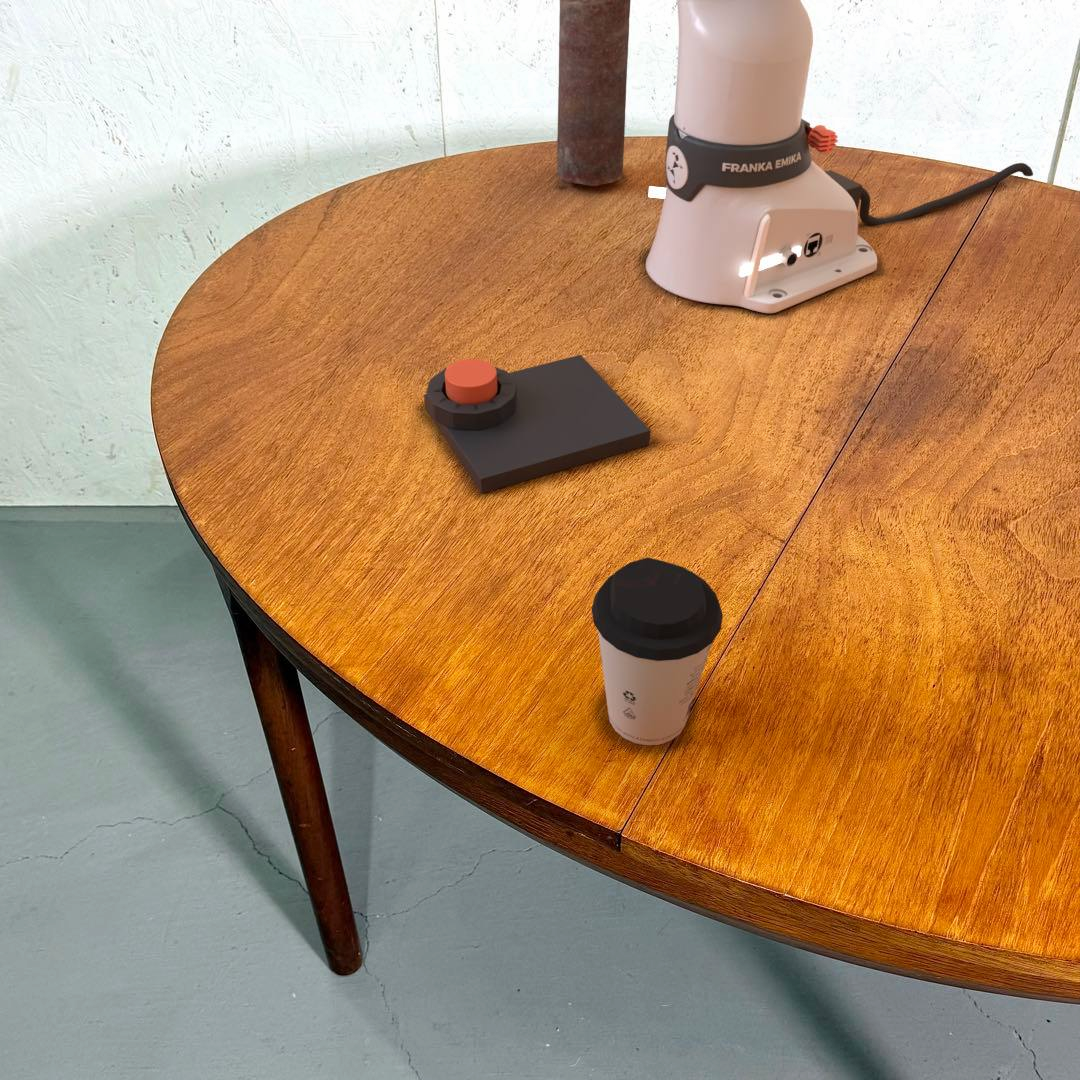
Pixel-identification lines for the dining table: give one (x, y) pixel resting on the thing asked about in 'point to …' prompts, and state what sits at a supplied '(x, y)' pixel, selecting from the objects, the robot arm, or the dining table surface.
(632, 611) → the coffee cup
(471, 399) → the red button cap
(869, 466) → the dining table surface
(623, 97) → the candle
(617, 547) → the dining table surface
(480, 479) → the dark grey button base
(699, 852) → the dining table surface
